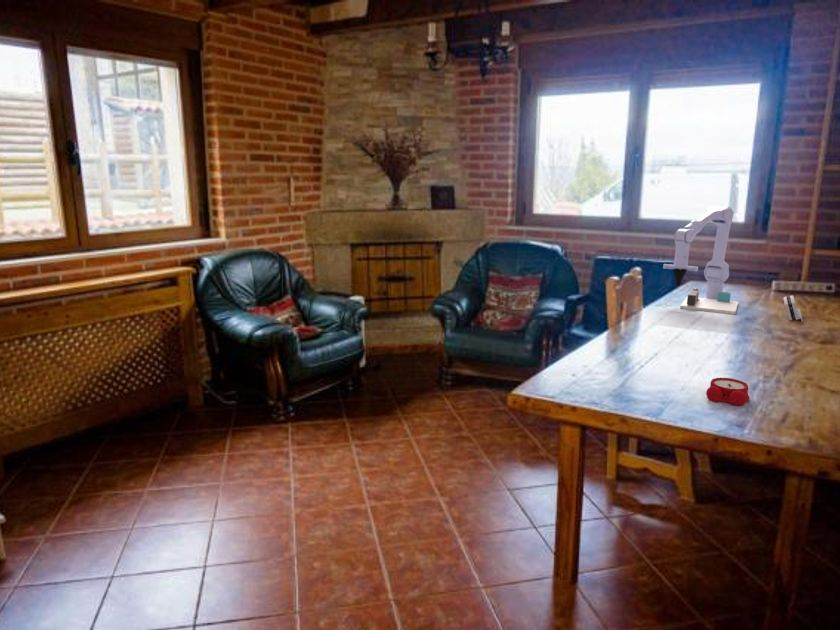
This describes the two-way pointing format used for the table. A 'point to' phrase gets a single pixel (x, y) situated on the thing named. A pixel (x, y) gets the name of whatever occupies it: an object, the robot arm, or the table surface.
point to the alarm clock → (728, 391)
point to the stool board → (714, 304)
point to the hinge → (794, 310)
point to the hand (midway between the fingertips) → (678, 285)
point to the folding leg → (693, 297)
